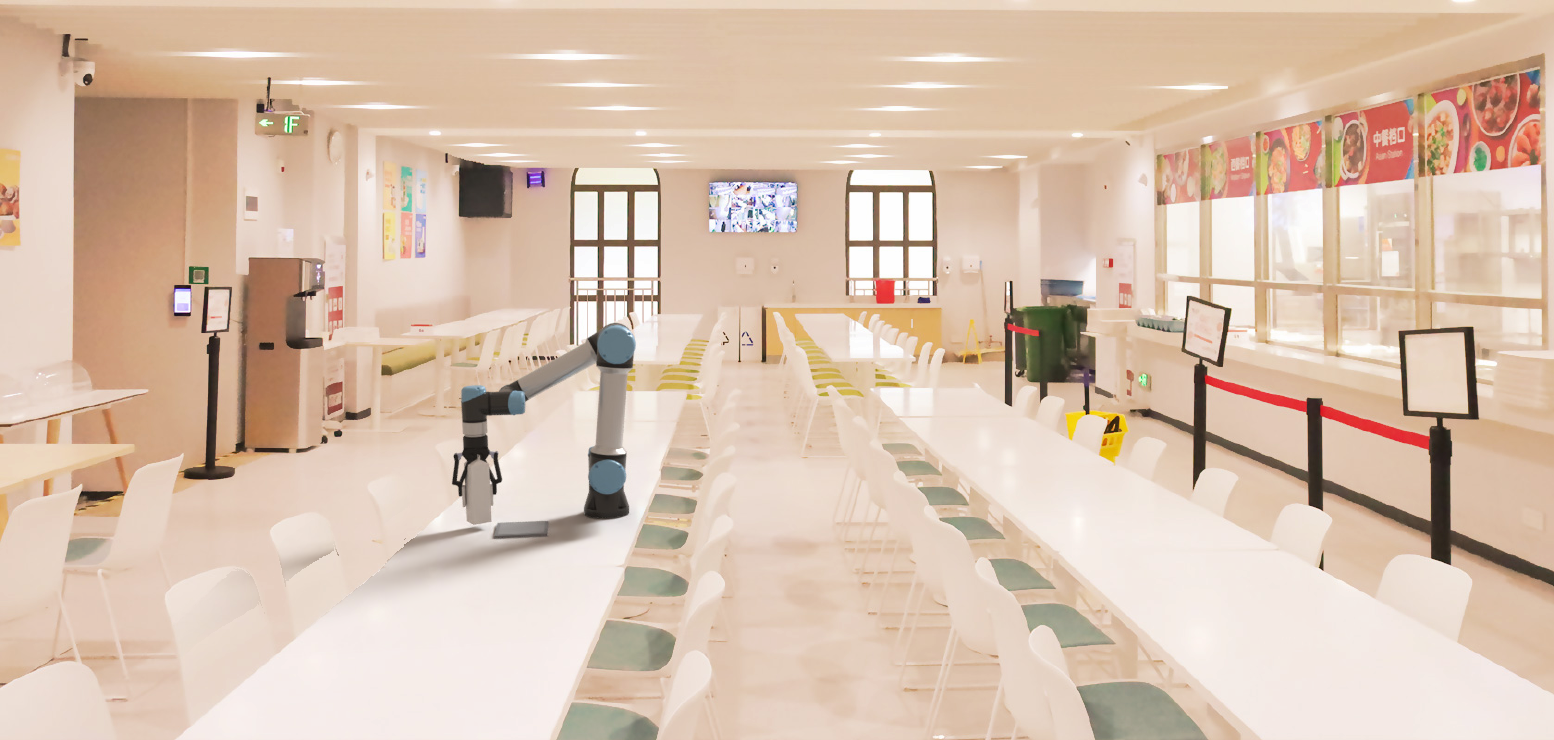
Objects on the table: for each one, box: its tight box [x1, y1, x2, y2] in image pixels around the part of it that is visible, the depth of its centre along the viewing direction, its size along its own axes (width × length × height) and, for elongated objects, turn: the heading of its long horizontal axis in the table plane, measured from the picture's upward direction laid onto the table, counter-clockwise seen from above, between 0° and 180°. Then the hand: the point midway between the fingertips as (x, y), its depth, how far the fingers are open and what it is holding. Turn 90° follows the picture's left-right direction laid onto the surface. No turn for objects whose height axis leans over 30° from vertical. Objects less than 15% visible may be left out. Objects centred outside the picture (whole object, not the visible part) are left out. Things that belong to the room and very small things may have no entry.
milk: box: [463, 454, 492, 526], centre depth 343 cm, size 6×6×22 cm
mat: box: [493, 520, 549, 539], centre depth 342 cm, size 16×16×1 cm
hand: (478, 505), depth 344 cm, fingers closed on milk, 8 cm apart
